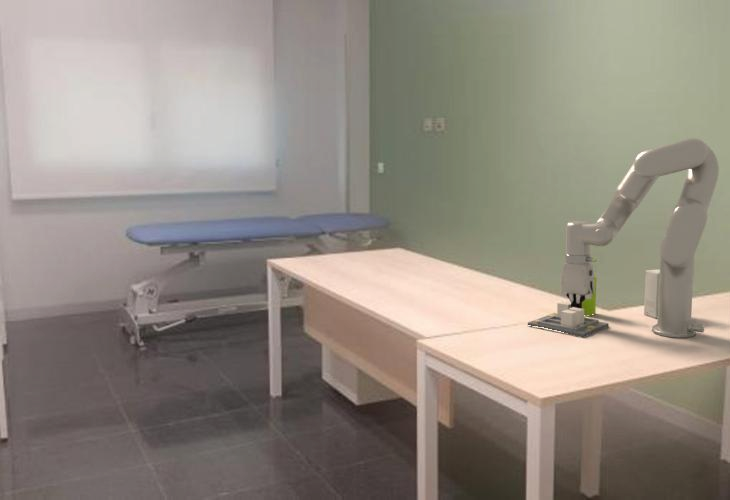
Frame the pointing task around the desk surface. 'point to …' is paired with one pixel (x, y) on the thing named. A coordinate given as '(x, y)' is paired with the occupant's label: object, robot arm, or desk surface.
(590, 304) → the soap dispenser
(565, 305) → the tab
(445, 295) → the desk surface
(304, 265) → the desk surface
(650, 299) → the skincare box
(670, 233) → the robot arm
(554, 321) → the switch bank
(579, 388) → the desk surface
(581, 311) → the tab
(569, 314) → the tab
